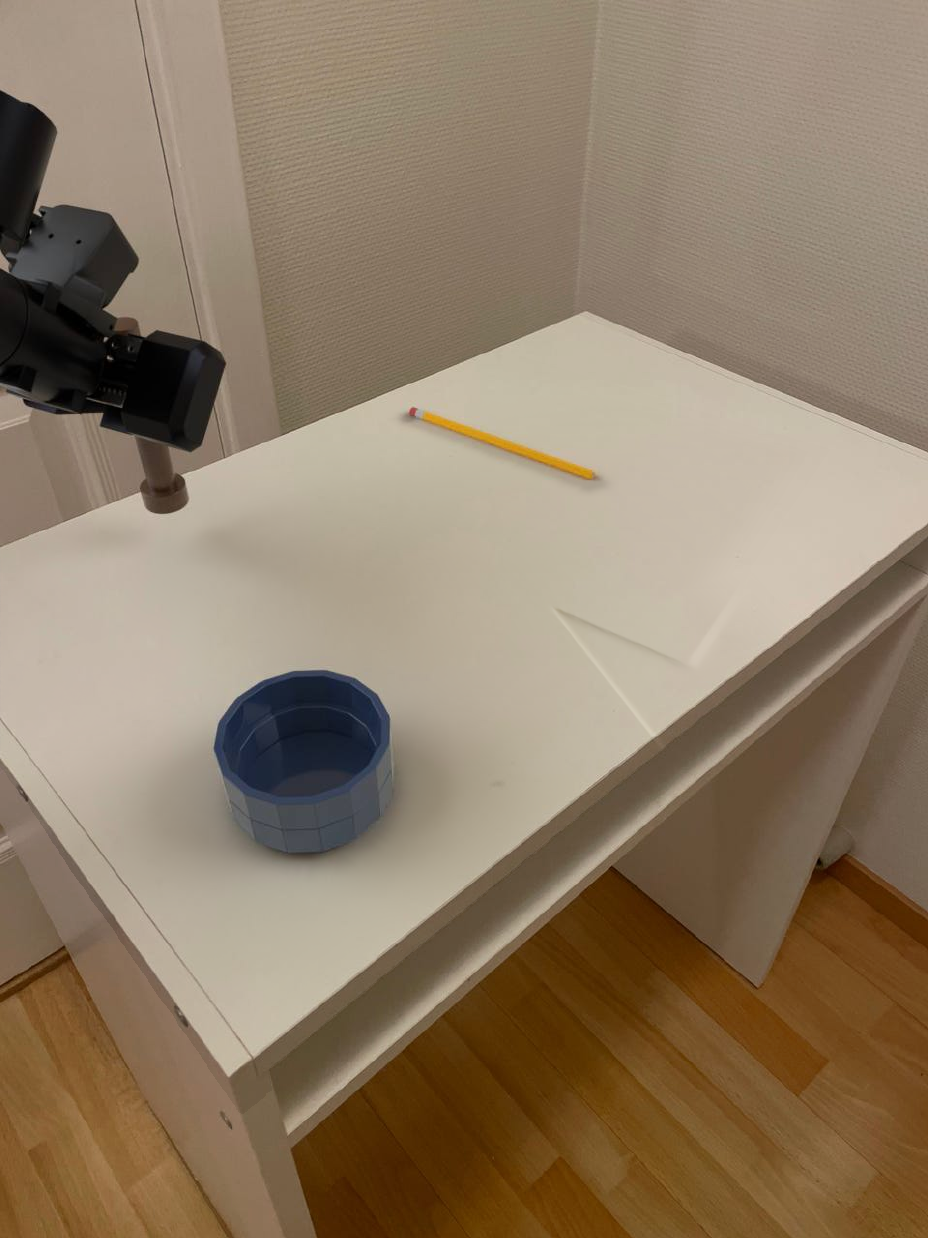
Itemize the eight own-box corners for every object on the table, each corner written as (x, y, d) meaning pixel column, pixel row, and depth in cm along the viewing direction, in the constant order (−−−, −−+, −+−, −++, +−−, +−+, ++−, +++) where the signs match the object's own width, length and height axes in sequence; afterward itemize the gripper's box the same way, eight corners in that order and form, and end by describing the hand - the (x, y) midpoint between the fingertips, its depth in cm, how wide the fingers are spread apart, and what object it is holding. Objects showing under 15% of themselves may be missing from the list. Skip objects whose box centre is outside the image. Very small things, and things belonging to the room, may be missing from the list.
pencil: (413, 412, 85) (413, 405, 84) (594, 477, 78) (595, 469, 77) (408, 416, 84) (408, 409, 84) (589, 481, 77) (590, 474, 77)
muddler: (149, 518, 67) (99, 339, 58) (140, 494, 69) (91, 318, 60) (193, 507, 68) (152, 329, 59) (183, 484, 70) (142, 309, 61)
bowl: (256, 884, 50) (241, 830, 46) (211, 757, 56) (196, 700, 53) (419, 822, 53) (416, 766, 49) (360, 707, 59) (354, 651, 56)
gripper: (172, 201, 47) (309, 320, 62) (-102, 151, 53) (84, 271, 68) (108, 414, 47) (259, 481, 62) (-159, 341, 53) (39, 419, 68)
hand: (158, 406), depth 65 cm, fingers closed on muddler, 2 cm apart
